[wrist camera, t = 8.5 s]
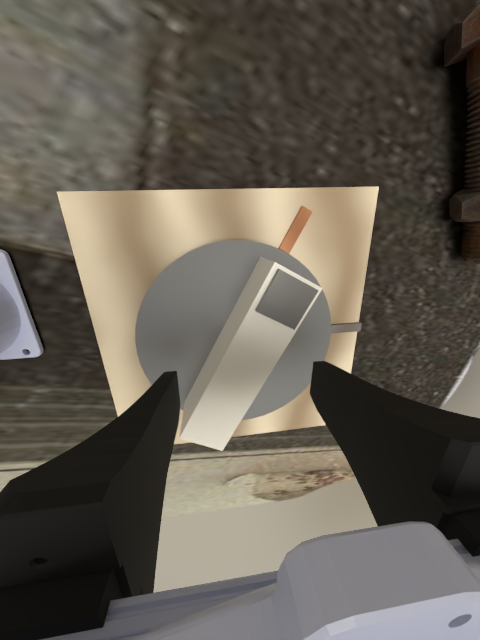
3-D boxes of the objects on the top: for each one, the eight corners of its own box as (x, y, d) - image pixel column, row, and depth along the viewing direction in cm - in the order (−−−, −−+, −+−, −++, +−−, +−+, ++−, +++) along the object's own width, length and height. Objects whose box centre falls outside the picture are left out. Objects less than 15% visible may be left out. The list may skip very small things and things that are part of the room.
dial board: (134, 432, 22) (126, 452, 20) (75, 197, 15) (54, 190, 13) (333, 408, 24) (345, 424, 22) (361, 192, 17) (382, 185, 15)
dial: (269, 430, 21) (285, 483, 16) (112, 380, 17) (77, 429, 13) (359, 295, 17) (411, 316, 13) (186, 197, 14) (175, 177, 9)
